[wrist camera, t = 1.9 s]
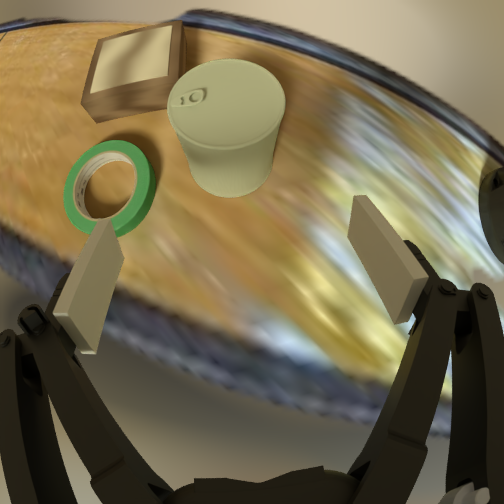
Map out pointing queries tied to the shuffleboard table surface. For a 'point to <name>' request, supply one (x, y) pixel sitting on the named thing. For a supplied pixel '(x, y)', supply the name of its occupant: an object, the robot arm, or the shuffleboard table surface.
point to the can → (227, 124)
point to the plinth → (135, 71)
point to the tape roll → (83, 171)
